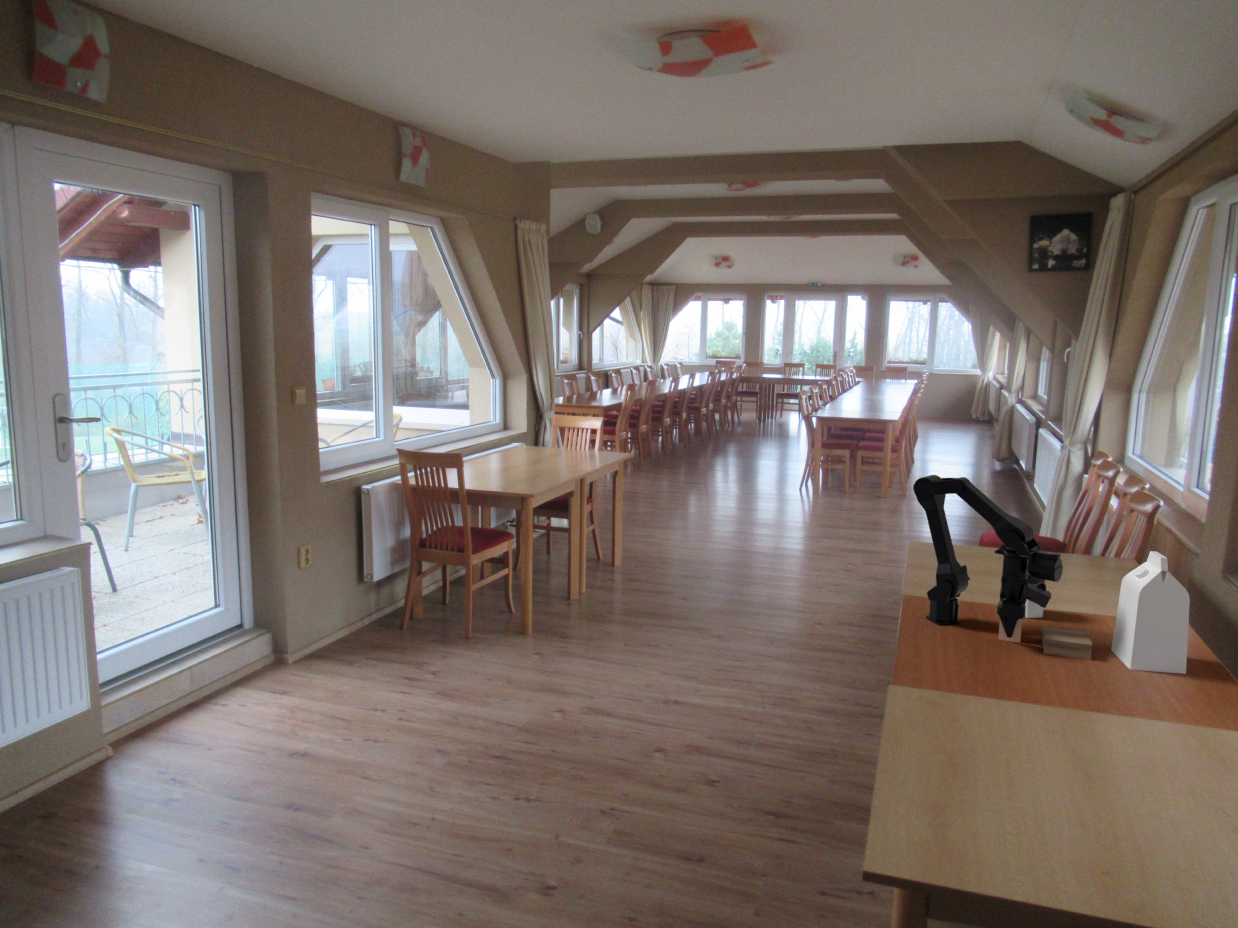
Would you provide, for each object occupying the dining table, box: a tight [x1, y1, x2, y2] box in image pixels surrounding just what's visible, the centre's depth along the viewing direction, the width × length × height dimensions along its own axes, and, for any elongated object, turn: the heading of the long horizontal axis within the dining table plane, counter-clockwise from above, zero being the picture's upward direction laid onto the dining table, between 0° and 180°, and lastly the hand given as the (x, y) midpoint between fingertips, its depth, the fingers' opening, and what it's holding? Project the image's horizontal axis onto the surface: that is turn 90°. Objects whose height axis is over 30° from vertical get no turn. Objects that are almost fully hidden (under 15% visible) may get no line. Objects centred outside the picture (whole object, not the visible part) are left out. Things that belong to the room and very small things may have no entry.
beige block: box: [1041, 625, 1093, 661], centre depth 206 cm, size 10×10×4 cm
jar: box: [1025, 571, 1046, 619], centre depth 232 cm, size 9×8×12 cm
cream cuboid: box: [998, 616, 1024, 643], centre depth 214 cm, size 5×5×6 cm
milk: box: [1110, 550, 1191, 675], centre depth 197 cm, size 12×12×26 cm
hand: (1009, 632), depth 214 cm, fingers open, 7 cm apart
